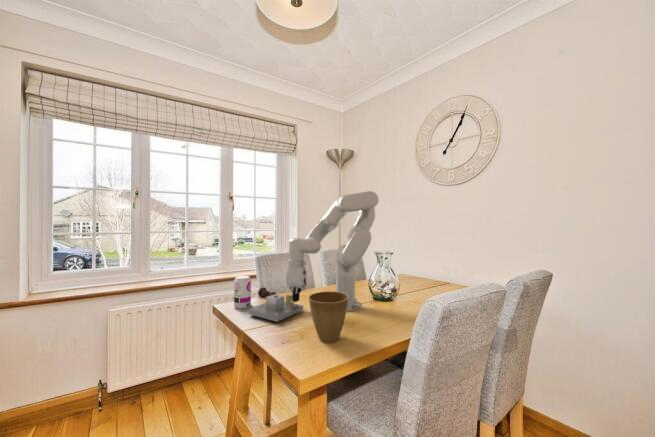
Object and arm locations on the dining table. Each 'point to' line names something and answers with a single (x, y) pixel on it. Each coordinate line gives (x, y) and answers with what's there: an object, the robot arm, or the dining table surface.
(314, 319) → the plant pot
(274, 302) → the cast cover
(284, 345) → the dining table surface
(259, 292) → the bolt
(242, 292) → the supplement can
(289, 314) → the grey mounting base
